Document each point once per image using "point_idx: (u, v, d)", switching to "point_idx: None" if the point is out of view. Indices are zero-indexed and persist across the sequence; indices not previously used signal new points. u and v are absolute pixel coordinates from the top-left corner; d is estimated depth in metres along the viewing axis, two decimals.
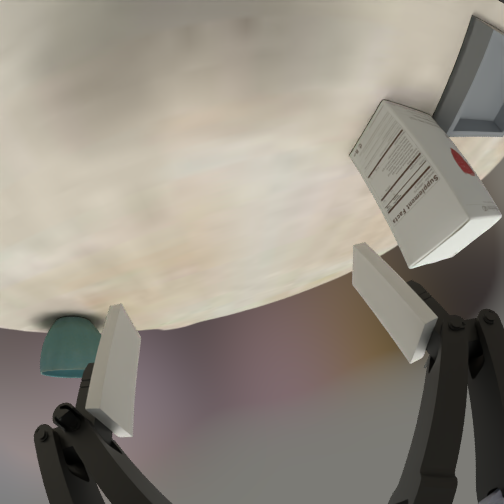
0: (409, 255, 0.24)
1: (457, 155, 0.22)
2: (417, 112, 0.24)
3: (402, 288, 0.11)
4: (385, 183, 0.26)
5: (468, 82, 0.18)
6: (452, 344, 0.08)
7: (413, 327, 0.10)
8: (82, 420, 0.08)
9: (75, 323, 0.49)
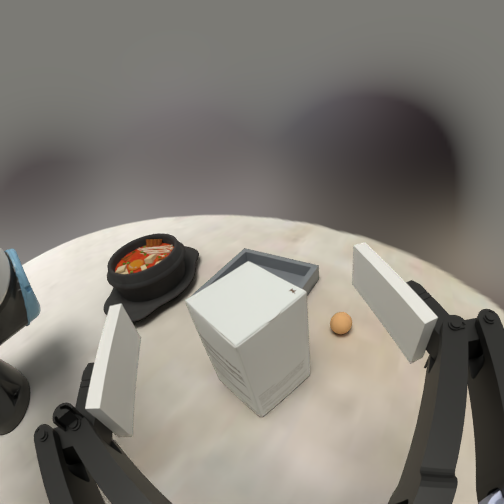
0: (231, 349, 0.23)
1: None
2: None
3: (402, 288, 0.11)
4: (236, 381, 0.28)
5: None
6: (452, 344, 0.08)
7: (413, 327, 0.10)
8: (82, 420, 0.08)
9: None
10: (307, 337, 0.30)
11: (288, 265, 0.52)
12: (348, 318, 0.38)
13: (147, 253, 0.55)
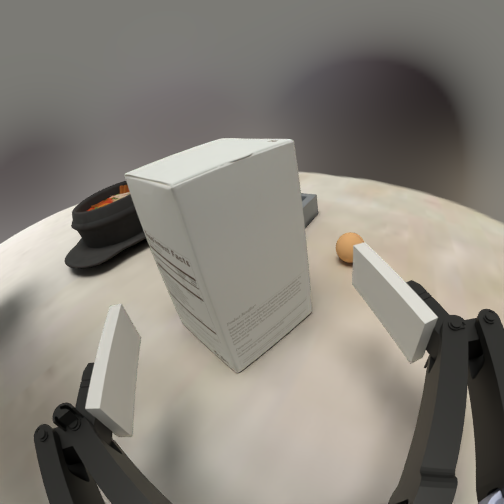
0: (168, 203, 0.14)
1: None
2: None
3: (402, 288, 0.11)
4: (192, 300, 0.19)
5: None
6: (452, 344, 0.08)
7: (413, 327, 0.10)
8: (82, 420, 0.08)
9: None
10: (303, 231, 0.20)
11: None
12: (359, 237, 0.28)
13: (118, 198, 0.46)
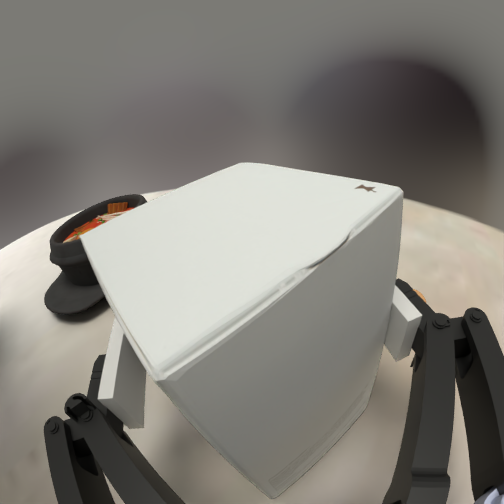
0: None
1: None
2: None
3: None
4: None
5: None
6: (437, 343, 0.08)
7: (397, 325, 0.10)
8: (95, 411, 0.08)
9: None
10: (385, 332, 0.11)
11: None
12: (422, 297, 0.19)
13: (106, 220, 0.37)
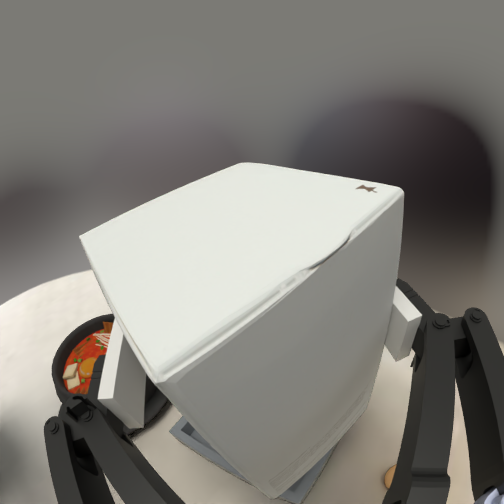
0: None
1: None
2: None
3: None
4: None
5: (224, 468, 0.22)
6: (437, 343, 0.08)
7: (397, 325, 0.10)
8: (94, 411, 0.08)
9: None
10: (385, 333, 0.11)
11: None
12: None
13: (105, 346, 0.34)
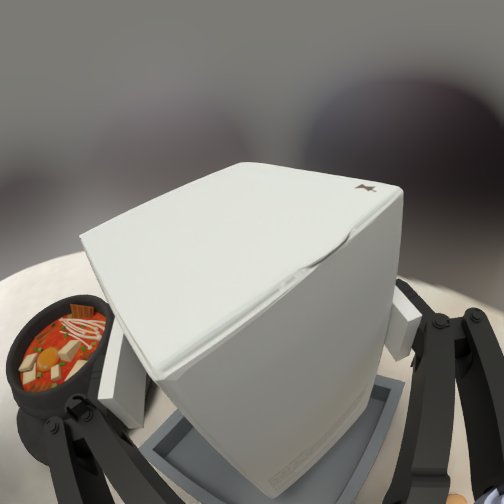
0: None
1: None
2: None
3: None
4: None
5: None
6: (437, 343, 0.08)
7: (397, 325, 0.10)
8: (95, 411, 0.08)
9: None
10: (385, 332, 0.11)
11: None
12: None
13: (69, 333, 0.26)
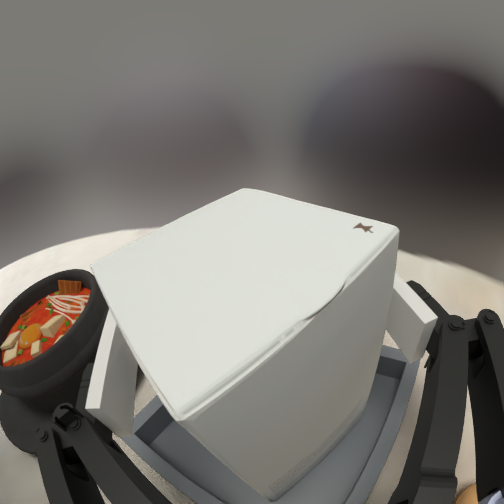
0: None
1: None
2: None
3: (402, 288, 0.11)
4: None
5: (197, 503, 0.11)
6: (452, 344, 0.08)
7: (413, 327, 0.10)
8: (82, 420, 0.08)
9: None
10: (379, 353, 0.12)
11: None
12: None
13: (54, 310, 0.24)
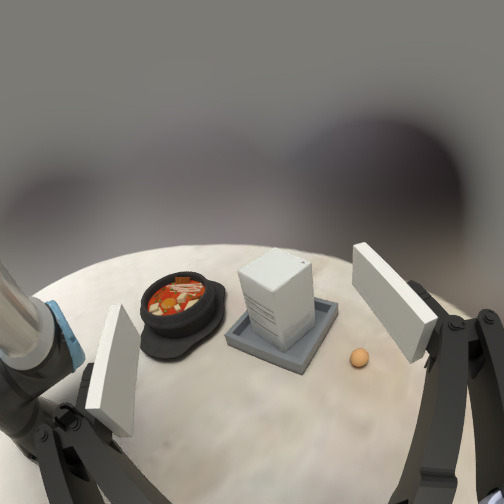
0: (269, 294, 0.42)
1: None
2: None
3: (402, 288, 0.11)
4: (268, 323, 0.47)
5: (259, 350, 0.48)
6: (452, 344, 0.08)
7: (413, 327, 0.10)
8: (82, 420, 0.08)
9: None
10: (312, 294, 0.48)
11: None
12: (365, 353, 0.42)
13: (177, 291, 0.60)
